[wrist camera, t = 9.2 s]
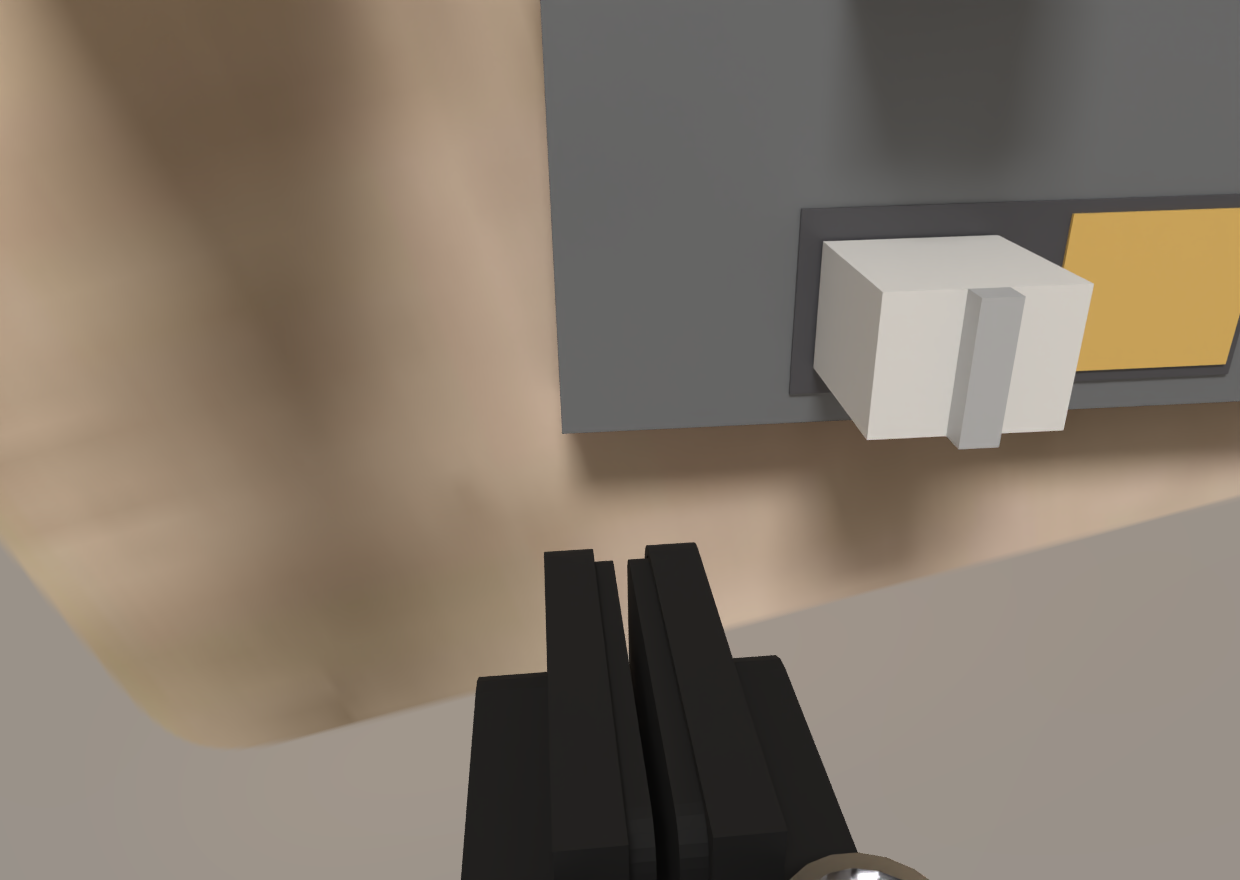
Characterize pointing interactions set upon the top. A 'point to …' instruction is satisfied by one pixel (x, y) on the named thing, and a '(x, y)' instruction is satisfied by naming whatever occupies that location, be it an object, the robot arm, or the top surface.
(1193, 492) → the top surface
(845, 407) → the tab
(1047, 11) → the switch board
